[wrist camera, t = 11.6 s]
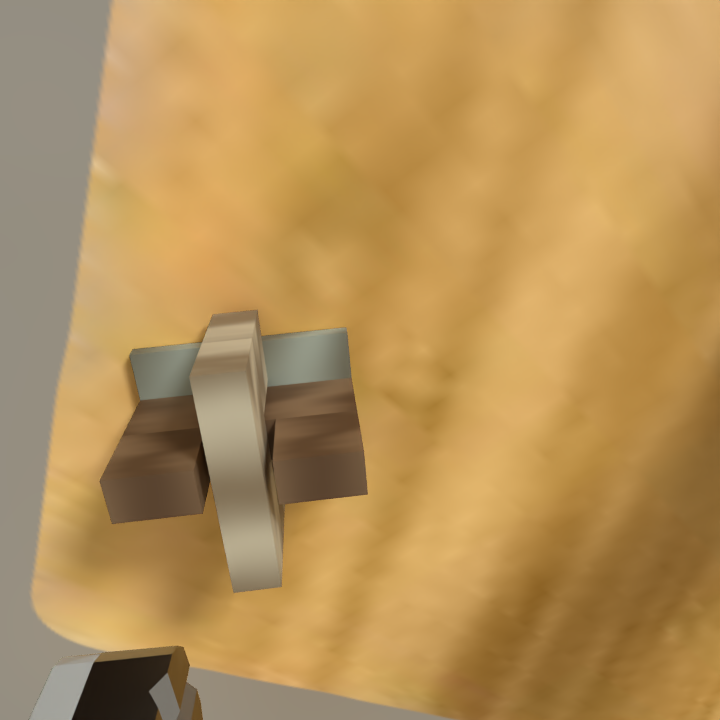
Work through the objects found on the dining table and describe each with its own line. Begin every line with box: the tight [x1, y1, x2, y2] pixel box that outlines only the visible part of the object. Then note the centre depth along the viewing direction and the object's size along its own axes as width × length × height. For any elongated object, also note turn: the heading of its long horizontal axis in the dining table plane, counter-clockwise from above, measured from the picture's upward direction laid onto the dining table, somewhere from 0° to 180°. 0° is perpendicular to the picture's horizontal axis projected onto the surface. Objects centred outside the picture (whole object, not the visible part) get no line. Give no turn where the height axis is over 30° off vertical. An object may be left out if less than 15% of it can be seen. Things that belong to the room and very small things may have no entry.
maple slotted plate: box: [189, 310, 285, 593], centre depth 33 cm, size 12×2×8 cm, turn 5°
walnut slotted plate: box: [100, 328, 368, 524], centre depth 34 cm, size 12×8×9 cm, turn 95°
